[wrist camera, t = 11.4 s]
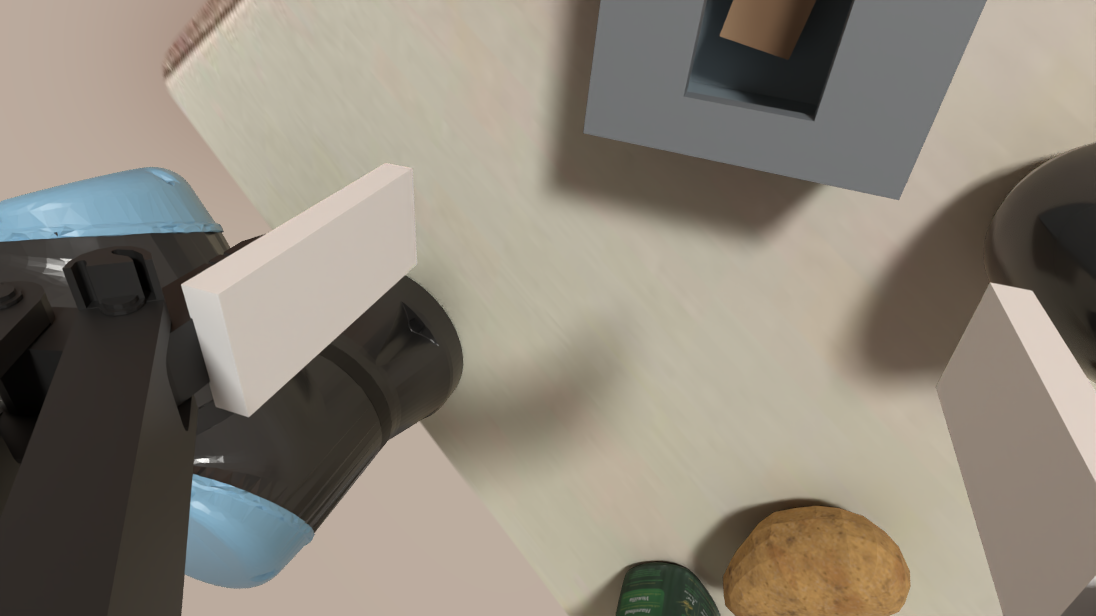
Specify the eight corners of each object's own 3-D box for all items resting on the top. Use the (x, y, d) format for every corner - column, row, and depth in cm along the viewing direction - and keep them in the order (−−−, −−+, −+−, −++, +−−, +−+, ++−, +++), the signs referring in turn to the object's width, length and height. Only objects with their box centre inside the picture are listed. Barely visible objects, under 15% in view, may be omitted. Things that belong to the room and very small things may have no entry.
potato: (699, 513, 54) (683, 594, 47) (856, 457, 46) (863, 545, 39) (769, 587, 56) (763, 675, 49) (932, 546, 47) (950, 645, 41)
